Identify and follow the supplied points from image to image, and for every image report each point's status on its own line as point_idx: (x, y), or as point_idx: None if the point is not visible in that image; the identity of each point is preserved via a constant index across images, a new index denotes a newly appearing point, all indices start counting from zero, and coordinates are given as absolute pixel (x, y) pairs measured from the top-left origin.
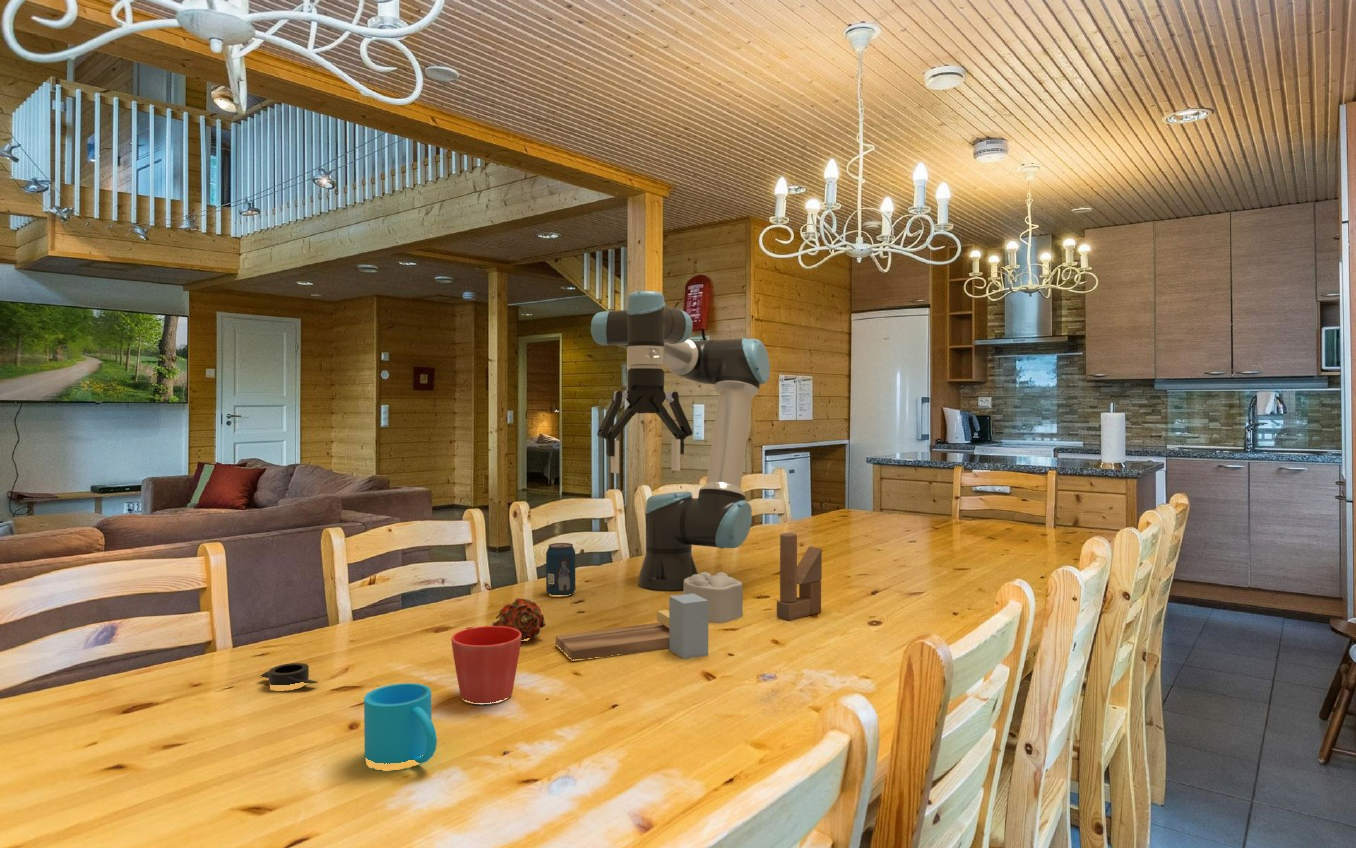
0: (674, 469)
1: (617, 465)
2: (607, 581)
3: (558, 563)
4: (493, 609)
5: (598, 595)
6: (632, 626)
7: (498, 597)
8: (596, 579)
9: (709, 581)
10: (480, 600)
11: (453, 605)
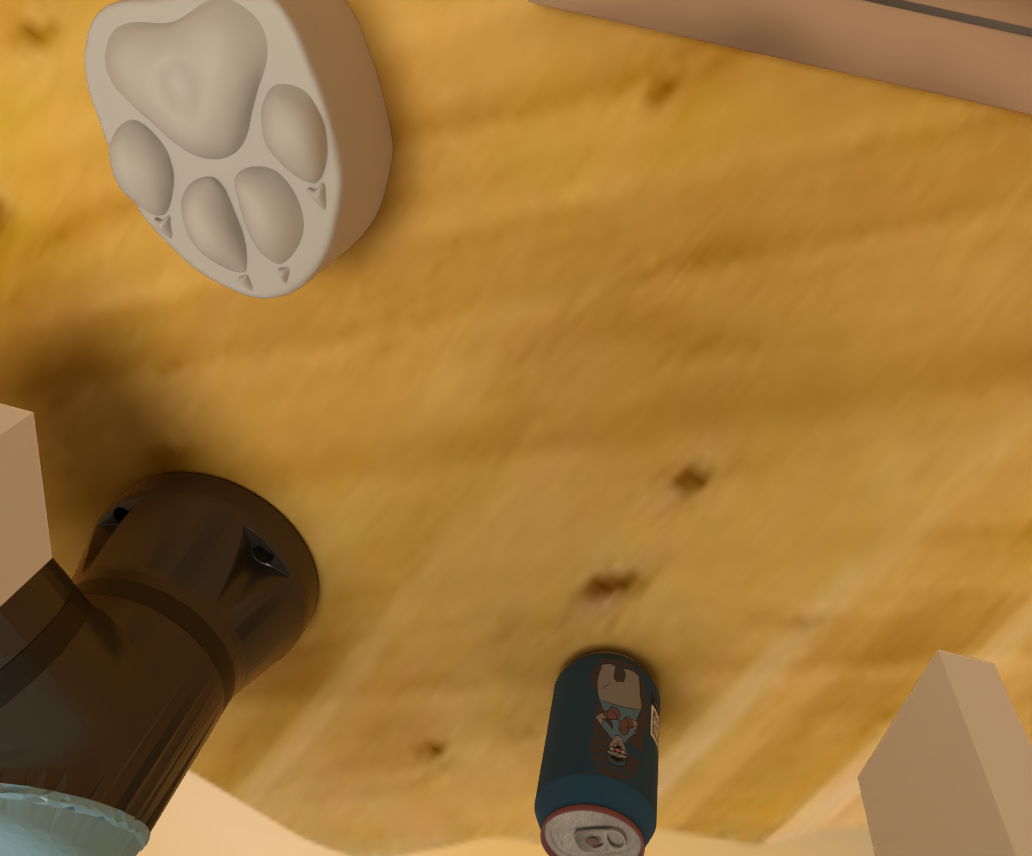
0: (33, 489)
1: (1000, 751)
2: (379, 710)
3: (636, 759)
4: (908, 683)
5: (505, 603)
6: (776, 50)
7: (793, 775)
8: (396, 746)
9: (242, 121)
10: None
11: None
